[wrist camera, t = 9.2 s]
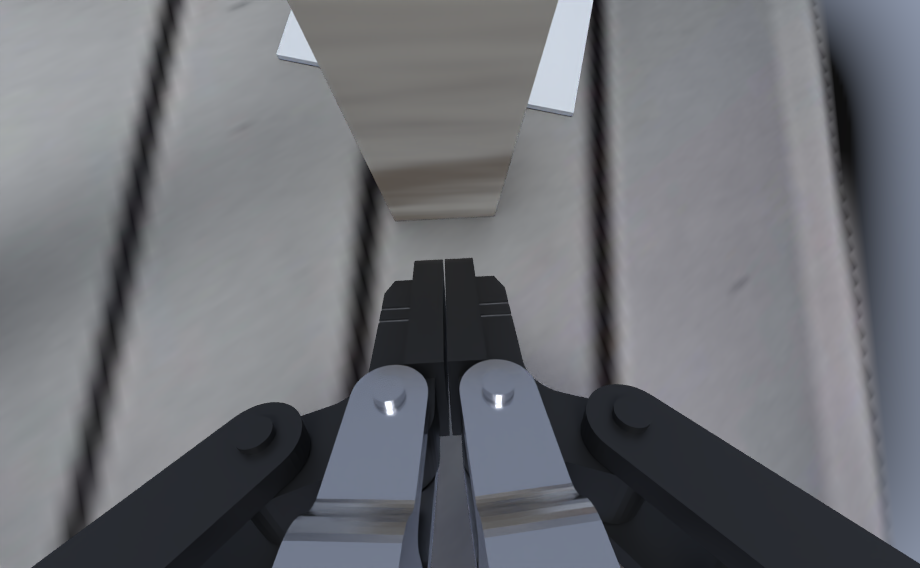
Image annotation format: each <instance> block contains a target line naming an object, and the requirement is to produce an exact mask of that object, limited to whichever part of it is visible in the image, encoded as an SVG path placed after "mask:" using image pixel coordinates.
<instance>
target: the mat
mask: <svg viewBox="0 0 920 568" xmlns="http://www.w3.org/2000/svg"><path fill="white" fill-rule="evenodd" d="M592 4H593V0H558V3H557V7H556V10H555V13H554V17H553V20H552V23H551V27H550V30H549V34H548V37H547V40H546V44H545V47H544V51H543V54H542V57H541V61H540V64H539V67H538V71H537V74H536V78H535V81H534V84H533V88H532V91H531V94H530V98H529V101H528V105H527V108H532V109H537V110H542V111H547V112H552V113H557V114H562V115H567V116H572V115H573V112H574V107H575V101H576V95H577V90H578V84H579V78H580V72H581V67H582V61H583V55H584V49H585V44H586V38H587V32H588V27H589V21H590V15H591V9H592ZM276 55H277V56H278V58H279V59H283V60H288V61H293V62H298V63H303V64H308V65H313V66H318V67H319V65H318V63H317V61H316V59H315V57H314V54H313V52H312V50H311V48H310V46H309V44H308V42H307V40H306V38H305V36H304V34H303V32H302V30H301V28H300V26H299V24H298V22H297V20H296V18H295V16H294V14H293V12H292V10H291V12H290V15H289V18H288V21H287V24H286V27H285V30H284V33H283V36H282V39H281V42H280V45H279V48H278V51H277V54H276Z"/></svg>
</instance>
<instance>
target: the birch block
mask: <svg viewBox="0 0 920 568" xmlns="http://www.w3.org/2000/svg"><path fill="white" fill-rule="evenodd" d="M287 1H288V3H289V5H290V8H291V10H292V12H293V14H294V16H295V18H296V20H297V22H298V24H299V26H300V28H301V30H302V32H303V34H304V36H305V38H306V40H307V42H308V44H309V46H310V48H311V50H312V52H313V54H314V57H315V59H316V61H317V63H318V65H319V67H320V69H321V71H322V73H323V75H324V77H325V79H326V81H327V83H328V85H329V87H330V89H331V91H332V93H333V95H334V97H335V99H336V101H337V104H338V106H339V108H340V110H341V112H342V114H343V116H344V118H345V120H346V122H347V124H348V126H349V128H350V130H351V132H352V134H353V136H354V138H355V140H356V142H357V144H358V146H359V148H360V151H361V153H362V155H363V157H364V159H365V161H366V163H367V165H368V167H369V169H370V171H371V173H372V175H373V177H374V179H375V181H376V183H377V185H378V187H379V189H380V191H381V193H382V195H383V197H384V200H385V202H386V204H387V206H388V208H389V210H390V212H391V214H392V216H393V218H394V220H395V221H406V220H427V219H447V218H468V217H488V216H495V213H496V209H497V206H498V203H499V199H500V196H501V193H502V189H503V186H504V182H505V179H506V176H507V172H508V169H509V165H510V162H511V159H512V155H513V152H514V149H515V145H516V142H517V138H518V135H519V132H520V128H521V125H522V122H523V118H524V115H525V111H526V108H527V105H528V101H529V98H530V94H531V91H532V88H533V84H534V81H535V78H536V74H537V71H538V67H539V64H540V61H541V57H542V54H543V51H544V47H545V44H546V40H547V37H548V34H549V30H550V27H551V23H552V20H553V17H554V13H555V10H556V7H557V3H558V0H287Z"/></svg>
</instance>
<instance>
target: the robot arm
mask: <svg viewBox="0 0 920 568" xmlns="http://www.w3.org/2000/svg"><path fill="white" fill-rule="evenodd" d="M445 283H446V300H445V285H444V271H443V260H423V261H415V262H414V271H413V280H405V281H395V282H394V283H393V284H392V286H391V287H390V288H389V289H388V290H387V291H386V293H385V295H384V300H383V305H382V311H381V314H380V319H379V321H380V323H379V324H378V329H377V334H376V339H375V344H374V349H373V354H372V359H371V364H370V369H369V373H368V374H366V375H365V376H364V377H362V378H361V379H360V380H359V381H358V382H357V384H356V385H355V387H354V388H353V390H352V393H351V395H350V397H348V398H347V399H345V400H343V401H341V402H340V403H337V404H335V405H332V406H330V407H327V408H324V409H321V410H318V411H315V412H312V413H309V414H306V415H303V416H300V414H299V412H298V411H297V410H296V409H295V408H294V407H292V406H290V405H288V404H285V403H279V402H271V403H264V404H261V405H257V406H255V407H252V408H250V409H248V410H246V411H244V412H242V413H240V414H239V415H237V416H236V417H234V418H233V419H232V420H230V421H229V422H228V423H226V424H225V425H224V426H222V427H221V428H220V429H218V430H217V431H215V432H214V433H213V434H211V435H210V436H209V437H207V438H206V439H205V440H203V441H202V442H201V443H199V444H198V445H197V446H195V447H194V448H192V449H191V450H190V451H188V452H187V453H186V454H184V455H183V456H182V457H180V458H179V459H178V460H176V461H175V462H174V463H172V464H171V465H169V466H168V467H167V468H165V469H164V470H163V471H161V472H160V473H159V474H157V475H156V476H155V477H153V478H152V479H151V480H149V481H148V482H146V483H145V484H144V485H142V486H141V487H140V488H138V489H137V490H136V491H134V492H133V493H132V494H130V495H129V496H128V497H126V498H125V499H123V500H122V501H121V502H119V503H118V504H117V505H115V506H114V507H113V508H111V509H110V510H109V511H107V512H106V513H105V514H103V515H102V516H100V517H99V518H98V519H96V520H95V521H94V522H92V523H91V524H90V525H88V526H87V527H86V528H84V529H83V530H82V531H80V532H79V533H77V534H76V535H75V536H73V537H72V538H71V539H69V540H68V541H67V542H65V543H64V544H63V545H61V546H60V547H59V548H57V549H56V550H55V551H53V552H52V553H50V554H49V555H48V556H46V557H45V558H44V559H42V560H41V561H40V562H38V563H37V564H36V565H34V566H33V567H32V568H431V560H432V547H433V534H434V521H435V508H436V495H437V483H438V467H439V461H440V436H450V432H449V391H450V405H451V419H452V433H453V435H461V436H462V454H463V473H464V481H465V489H466V496H467V504H468V512H469V520H470V527H471V535H472V543H473V550H474V558H475V566H476V568H620V566H619V563H620V564H621V565H622V566H623V567H624V568H920V564H919V563H918V562H916V561H914V560H913V559H911V558H910V557H908V556H907V555H905V554H903V553H902V552H900V551H899V550H897V549H895V548H894V547H892V546H891V545H889V544H887V543H886V542H884V541H883V540H881V539H879V538H878V537H876V536H875V535H873V534H871V533H870V532H868V531H867V530H865V529H864V528H862V527H860V526H859V525H857V524H856V523H854V522H852V521H851V520H849V519H848V518H846V517H844V516H843V515H841V514H840V513H838V512H836V511H835V510H833V509H832V508H830V507H829V506H827V505H825V504H824V503H822V502H821V501H819V500H817V499H816V498H814V497H813V496H811V495H809V494H808V493H806V492H805V491H803V490H801V489H800V488H798V487H797V486H795V485H794V484H792V483H790V482H789V481H787V480H786V479H784V478H782V477H781V476H779V475H778V474H776V473H774V472H773V471H771V470H770V469H768V468H766V467H765V466H763V465H762V464H760V463H759V462H757V461H755V460H754V459H752V458H751V457H749V456H747V455H746V454H744V453H743V452H741V451H739V450H738V449H736V448H735V447H733V446H731V445H730V444H728V443H727V442H725V441H724V440H722V439H720V438H719V437H717V436H716V435H714V434H712V433H711V432H709V431H708V430H706V429H704V428H703V427H701V426H700V425H698V424H696V423H695V422H693V421H692V420H690V419H688V418H687V417H685V416H684V415H682V414H681V413H679V412H677V411H676V410H674V409H673V408H671V407H669V406H668V405H666V404H665V403H663V402H661V401H660V400H658V399H657V398H655V397H653V396H652V395H650V394H648V393H647V392H645V391H643V390H640V389H638V388H635V387H632V386H627V385H619V384H614V385H607V386H603V387H601V388H599V389H597V390H596V391H594V392H593V393H592V394H591V395H590V397H589V399H588V398H584V397H579V396H575V395H570V394H565V393H561V392H558V391H554V390H552V389H549V388H547V387H545V386H544V385H542V384H540V383H539V382H538V381H536V380H535V379H534V378H533V377H532V376H531V374H530V373H529V372H528V371H527V369H526V368H525V366H524V363H523V360H522V356H521V352H520V348H519V344H518V339H517V335H516V331H515V327H514V323H513V319H512V316H511V311H510V307H509V304H508V299H507V295H506V291H505V287H504V286H503V285H502V284H501V283H500V282H499V281H498V280H497V279H496V278H495V277H494V276H482V277H475V271H474V264H473V258H462V259H445ZM448 377H449V391H448Z"/></svg>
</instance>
